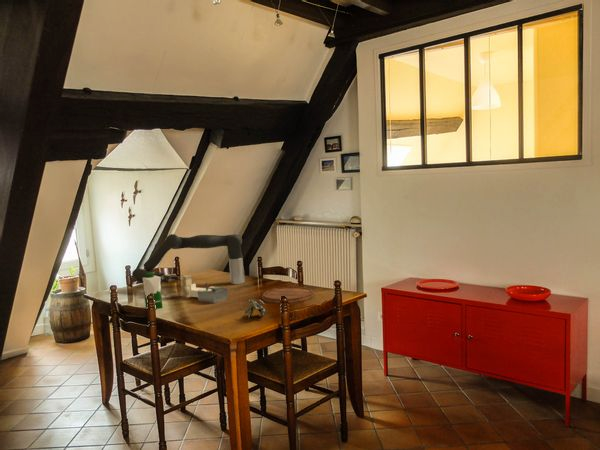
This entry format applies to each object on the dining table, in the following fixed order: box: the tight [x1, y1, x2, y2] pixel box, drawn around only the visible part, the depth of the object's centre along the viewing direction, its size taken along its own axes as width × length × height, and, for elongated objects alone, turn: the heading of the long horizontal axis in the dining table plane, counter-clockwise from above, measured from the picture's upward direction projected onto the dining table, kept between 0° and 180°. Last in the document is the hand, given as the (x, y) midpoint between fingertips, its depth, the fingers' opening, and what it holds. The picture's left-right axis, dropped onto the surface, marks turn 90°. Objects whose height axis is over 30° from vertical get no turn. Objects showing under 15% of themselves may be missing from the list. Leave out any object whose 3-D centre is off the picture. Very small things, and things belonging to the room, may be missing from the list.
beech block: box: [179, 274, 193, 298], centre depth 306 cm, size 5×5×13 cm
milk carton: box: [142, 273, 163, 310], centre depth 282 cm, size 9×9×20 cm
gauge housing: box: [197, 285, 229, 304], centre depth 294 cm, size 13×12×6 cm
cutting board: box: [260, 286, 316, 304], centre depth 293 cm, size 32×32×2 cm
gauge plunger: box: [190, 282, 212, 298], centre depth 300 cm, size 14×7×8 cm, turn 56°
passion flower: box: [240, 299, 266, 319], centre depth 254 cm, size 11×11×12 cm
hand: (173, 279), depth 312 cm, fingers open, 8 cm apart
